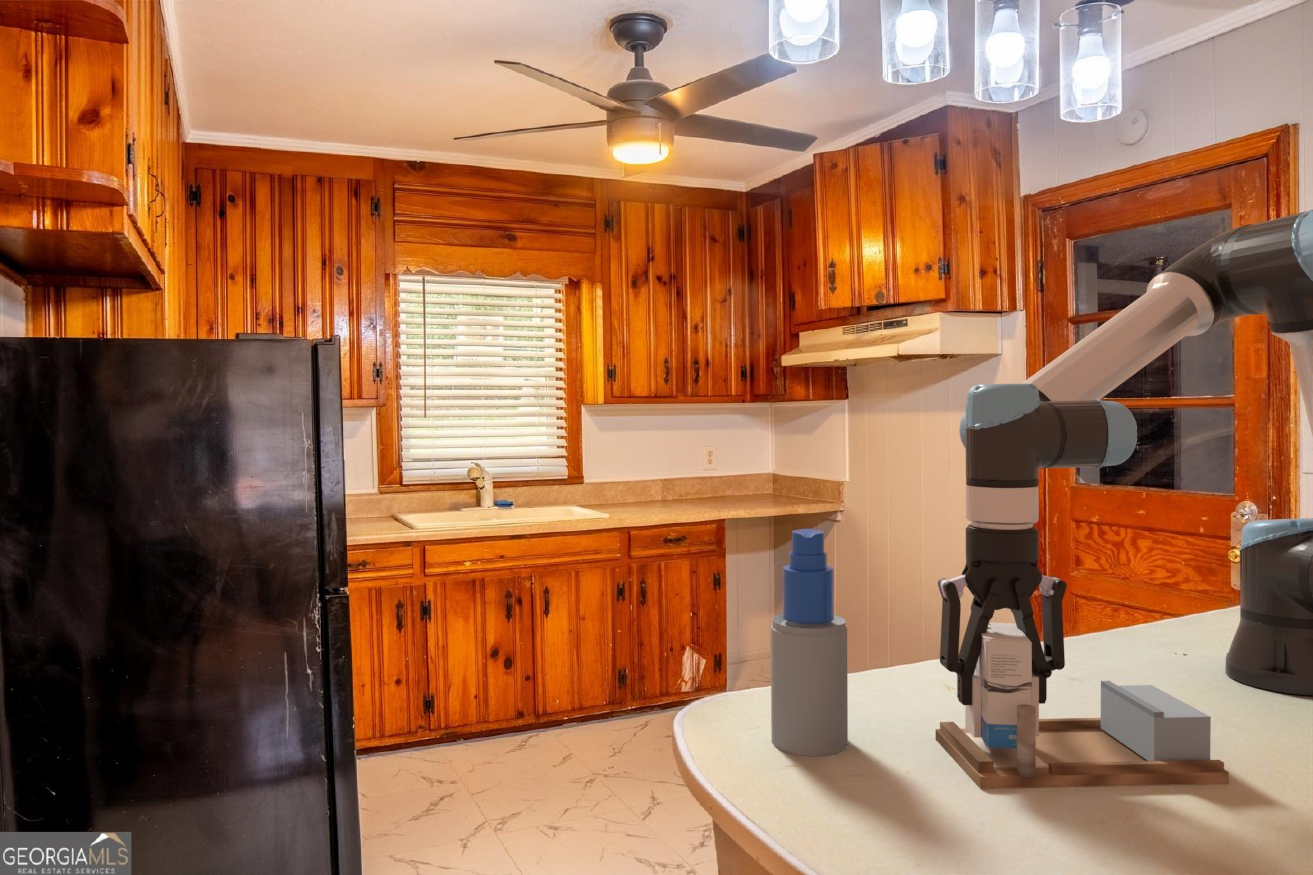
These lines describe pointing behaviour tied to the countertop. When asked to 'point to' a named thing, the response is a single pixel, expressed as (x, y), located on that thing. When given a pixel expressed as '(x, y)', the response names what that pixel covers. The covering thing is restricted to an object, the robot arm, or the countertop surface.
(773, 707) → the spray bottle
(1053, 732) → the tray
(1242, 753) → the countertop surface
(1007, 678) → the ink box
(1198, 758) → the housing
